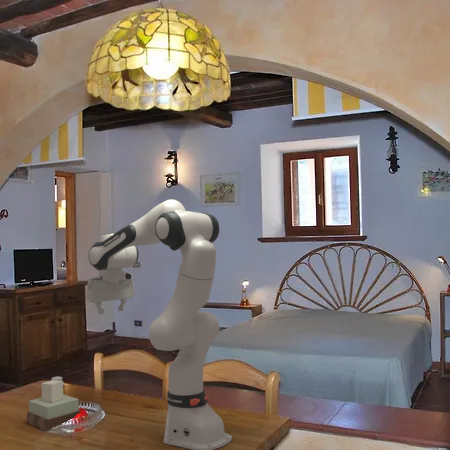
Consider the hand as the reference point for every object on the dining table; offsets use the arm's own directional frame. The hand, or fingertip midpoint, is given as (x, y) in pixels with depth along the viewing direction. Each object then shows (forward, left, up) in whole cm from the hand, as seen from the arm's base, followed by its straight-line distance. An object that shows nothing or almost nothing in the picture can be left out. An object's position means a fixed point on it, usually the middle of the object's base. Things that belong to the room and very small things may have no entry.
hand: (111, 312), depth 216 cm
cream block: (0, +25, -28) cm, 37 cm away
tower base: (0, +25, -36) cm, 43 cm away
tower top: (0, +25, -32) cm, 40 cm away
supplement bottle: (+17, +13, -35) cm, 41 cm away
